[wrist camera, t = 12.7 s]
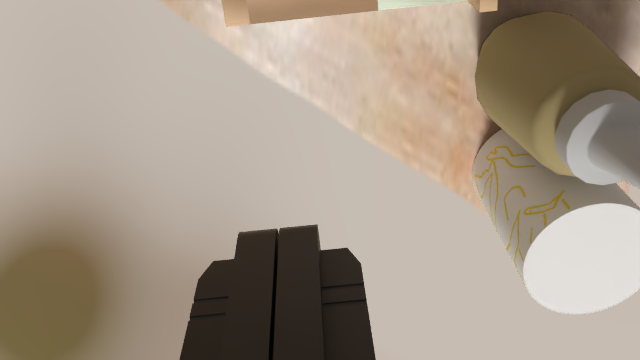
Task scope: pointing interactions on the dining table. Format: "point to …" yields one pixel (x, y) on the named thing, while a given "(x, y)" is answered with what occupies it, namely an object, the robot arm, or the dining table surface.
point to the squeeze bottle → (563, 97)
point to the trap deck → (321, 8)
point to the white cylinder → (559, 229)
